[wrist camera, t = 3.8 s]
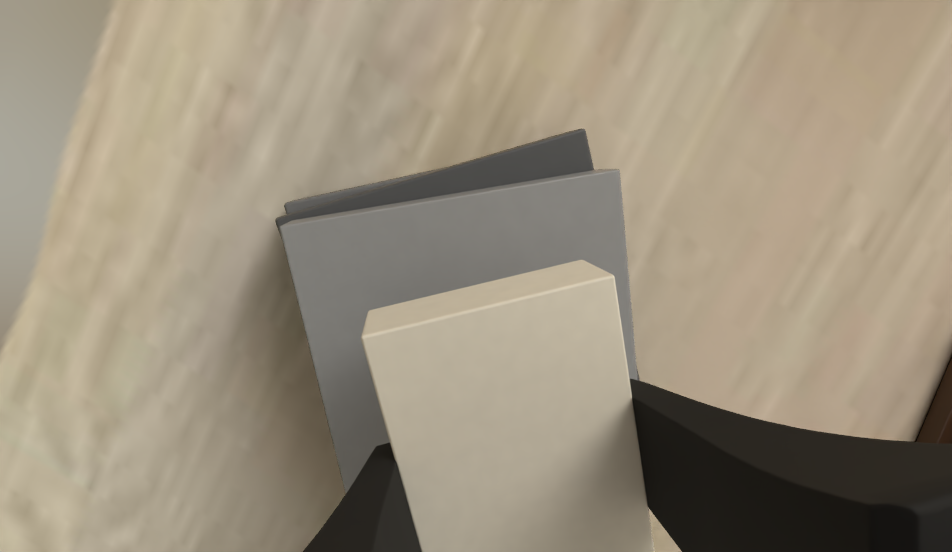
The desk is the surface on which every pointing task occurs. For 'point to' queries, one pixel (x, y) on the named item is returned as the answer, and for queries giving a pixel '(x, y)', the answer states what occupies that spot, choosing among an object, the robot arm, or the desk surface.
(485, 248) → the grey book stack
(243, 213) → the desk surface
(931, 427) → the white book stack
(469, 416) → the cream rectangular block
